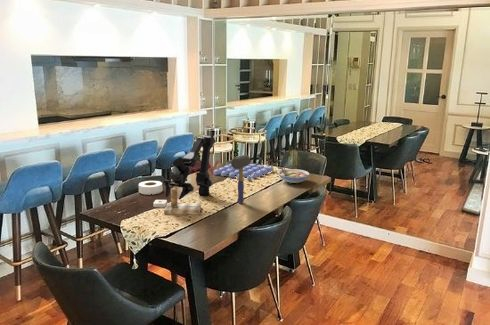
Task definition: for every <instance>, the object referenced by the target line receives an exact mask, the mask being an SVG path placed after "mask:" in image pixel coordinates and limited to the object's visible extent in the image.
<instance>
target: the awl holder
mask: <svg viewBox="0 0 490 325" xmlns="http://www.w3.org/2000/svg"><path fill="white" fill-rule="evenodd" d="M167 204H168V200H167V199H155V200H154V201H153V206H152V207H153V208H165V207H166V205H167Z"/></svg>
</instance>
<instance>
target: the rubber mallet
mask: <svg viewBox="0 0 490 325" xmlns="http://www.w3.org/2000/svg"><path fill="white" fill-rule="evenodd" d="M230 164H231V166H232V167H233V168H234V169H239V179H238V181H237V202H238V204H243V203H244V201H245V199H244V188H245V185H244V177H243V167H246V166H248V165H249V164H251V158H250V156H249V155H248V154H247V155H246V154H243V155H239V156H238V155H237V156H235V157H234V158H232V159H231V162H230Z"/></svg>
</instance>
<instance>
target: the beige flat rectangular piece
mask: <svg viewBox="0 0 490 325" xmlns="http://www.w3.org/2000/svg"><path fill="white" fill-rule="evenodd" d="M177 204H178V207H176V208H172V207H171V202H167V205H166V207H164V209H163V215H200V212H201V208H202V203H200V202H199V203H198V202H195V203H194V202H193V203H191V202H185V203H184V202H183V203H178V202H177Z"/></svg>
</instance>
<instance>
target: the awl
mask: <svg viewBox="0 0 490 325" xmlns="http://www.w3.org/2000/svg"><path fill="white" fill-rule="evenodd" d="M170 203H171V207H172V208H176V207H178V204H177V203H178V187H173V188H171V192H170Z"/></svg>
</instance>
